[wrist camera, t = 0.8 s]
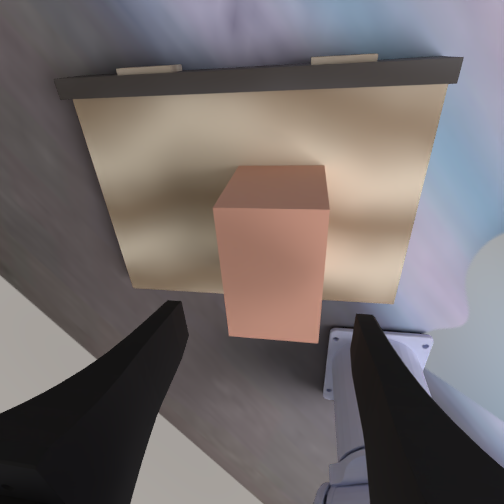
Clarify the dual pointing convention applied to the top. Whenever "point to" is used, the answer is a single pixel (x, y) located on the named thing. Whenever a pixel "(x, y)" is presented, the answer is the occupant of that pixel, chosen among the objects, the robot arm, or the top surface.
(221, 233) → the carton
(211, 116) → the shelf board
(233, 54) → the top surface
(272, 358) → the top surface
